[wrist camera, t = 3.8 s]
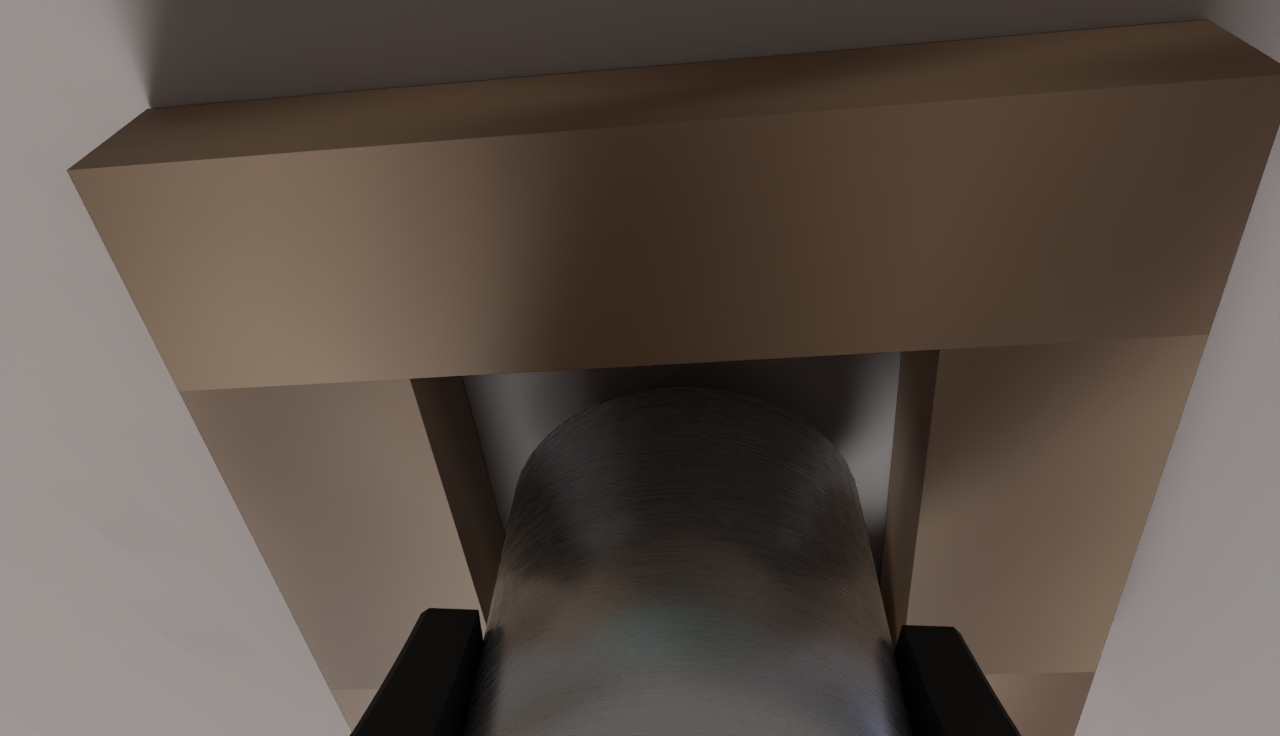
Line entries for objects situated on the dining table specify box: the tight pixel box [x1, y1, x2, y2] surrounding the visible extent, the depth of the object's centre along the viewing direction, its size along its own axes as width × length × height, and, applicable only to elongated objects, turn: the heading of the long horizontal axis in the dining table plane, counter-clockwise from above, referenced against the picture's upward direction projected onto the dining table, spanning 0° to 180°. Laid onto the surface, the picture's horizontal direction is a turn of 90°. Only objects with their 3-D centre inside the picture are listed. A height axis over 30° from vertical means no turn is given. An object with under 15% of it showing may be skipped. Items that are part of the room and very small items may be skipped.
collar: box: [67, 19, 1280, 736], centre depth 13 cm, size 12×12×2 cm
